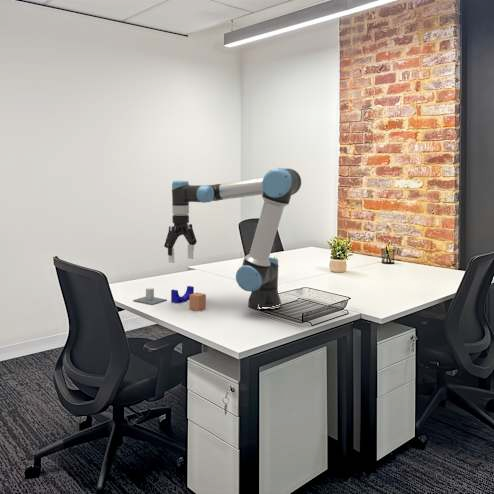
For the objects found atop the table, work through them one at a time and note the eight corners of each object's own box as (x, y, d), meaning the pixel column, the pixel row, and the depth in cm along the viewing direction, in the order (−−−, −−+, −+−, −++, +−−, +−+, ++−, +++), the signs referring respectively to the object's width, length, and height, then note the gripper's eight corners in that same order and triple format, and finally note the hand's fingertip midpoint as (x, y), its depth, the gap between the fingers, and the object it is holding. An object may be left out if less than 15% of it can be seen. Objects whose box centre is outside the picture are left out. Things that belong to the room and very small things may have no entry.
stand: (166, 300, 249) (166, 288, 248) (152, 305, 241) (152, 292, 240) (147, 297, 255) (147, 285, 255) (133, 301, 247) (132, 288, 246)
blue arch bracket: (177, 304, 244) (177, 291, 244) (171, 302, 247) (171, 290, 246) (195, 299, 254) (195, 287, 253) (189, 297, 257) (189, 285, 256)
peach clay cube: (205, 308, 236) (205, 294, 235) (198, 311, 232) (198, 296, 231) (196, 307, 239) (196, 292, 238) (189, 309, 235) (189, 294, 234)
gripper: (191, 212, 252) (191, 256, 255) (155, 216, 231) (156, 263, 234) (203, 213, 248) (204, 257, 251) (168, 216, 227) (169, 265, 230)
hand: (181, 260), depth 243 cm, fingers open, 13 cm apart
